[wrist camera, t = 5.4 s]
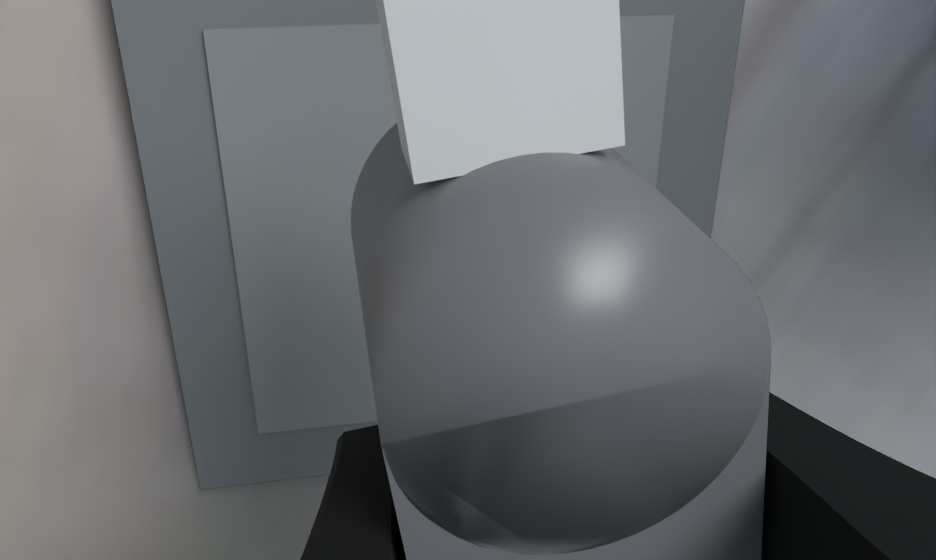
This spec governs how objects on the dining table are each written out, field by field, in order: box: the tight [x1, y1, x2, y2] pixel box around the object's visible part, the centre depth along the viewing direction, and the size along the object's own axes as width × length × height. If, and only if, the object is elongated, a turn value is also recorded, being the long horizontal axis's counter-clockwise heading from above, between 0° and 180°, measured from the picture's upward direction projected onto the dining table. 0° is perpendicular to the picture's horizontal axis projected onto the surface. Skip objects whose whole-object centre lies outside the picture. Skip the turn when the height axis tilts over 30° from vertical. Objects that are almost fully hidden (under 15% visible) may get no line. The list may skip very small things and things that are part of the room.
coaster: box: [111, 0, 745, 490], centre depth 18 cm, size 12×12×1 cm
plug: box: [351, 0, 771, 560], centre depth 11 cm, size 11×4×4 cm, turn 7°
